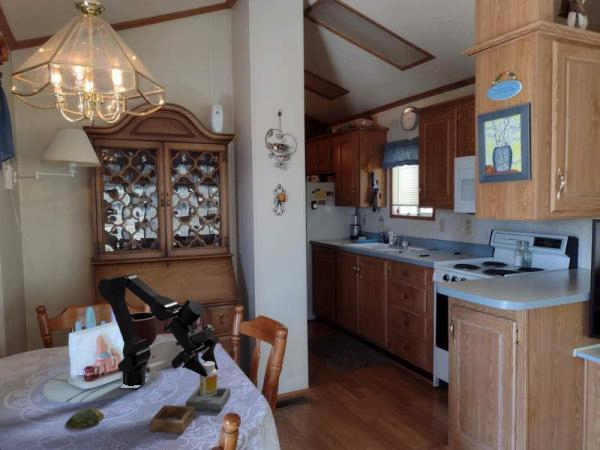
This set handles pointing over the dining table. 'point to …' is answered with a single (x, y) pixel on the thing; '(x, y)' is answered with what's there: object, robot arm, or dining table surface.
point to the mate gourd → (145, 326)
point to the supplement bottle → (208, 380)
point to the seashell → (85, 418)
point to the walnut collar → (172, 425)
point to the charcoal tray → (209, 400)
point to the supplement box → (197, 325)
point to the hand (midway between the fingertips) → (211, 373)
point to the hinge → (162, 354)
